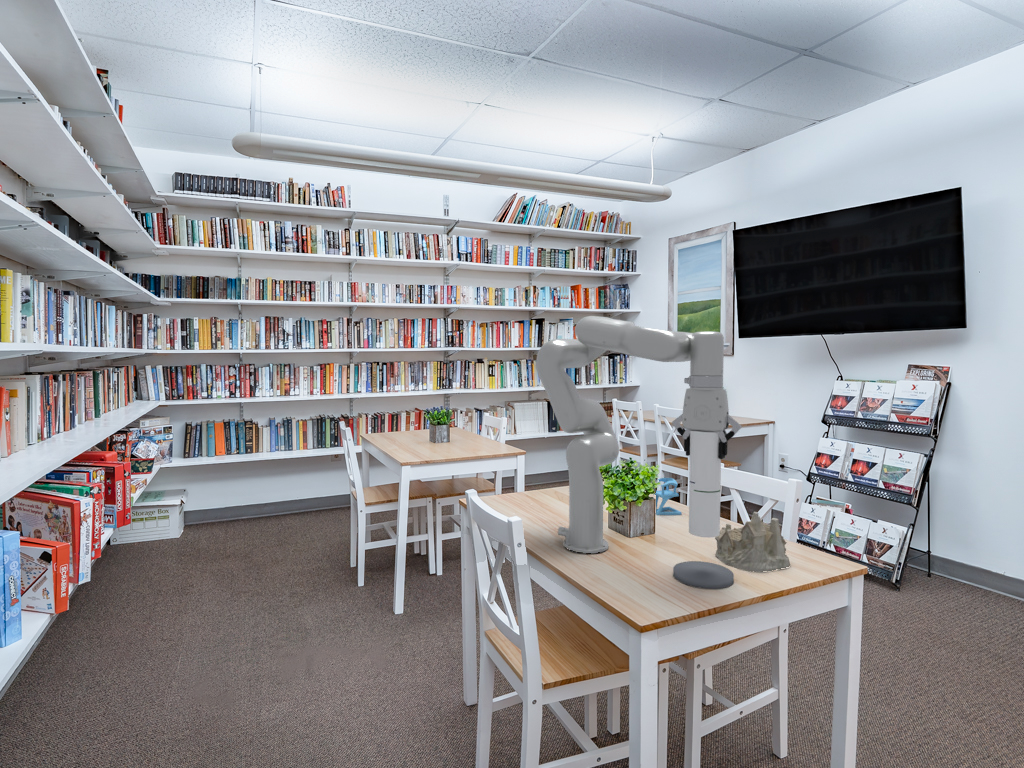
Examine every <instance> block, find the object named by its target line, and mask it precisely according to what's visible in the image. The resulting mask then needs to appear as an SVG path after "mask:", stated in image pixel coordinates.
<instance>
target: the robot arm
mask: <svg viewBox="0 0 1024 768" xmlns="http://www.w3.org/2000/svg"><path fill="white" fill-rule="evenodd" d="M574 335H575V339H574V338H555V339H554V338H553V339H550V340H548V341H547V342H545V343H543V344H542V346H541V347H540V348H539V350H538V352H537V355H536V361H535V362H536V363H535V364H536V372H537V375H538V377H539V380H540V382H541V384H542V386H543V388H544V390H545V392H546V395H547V398H548V399H549V403H550V405H551V408H552V411H553V413H554V416H555V418H556V421H557V423H558V426H559V428H560V429H561V430H562V431H563V432H565V433H566V434H579V433H583V435H581V436H579V435H578V436H577V437H575V438H573V439H572V440H571V441H570V442H569V444H567V447H566V450H565V459H566V463H567V464H566V465H567V470H568V481H569V482H568V489H569V491H568V492H569V493H568V494H569V495H568V497H569V498H568V499H569V500H568V503H569V505H568V507H569V508H568V512H569V513H568V514H569V515H568V518H569V519H568V527H563V526H559V527H558V529H557V535H558V536H562V537H565V539H564V540H563V547H564V546H565V547H566V548H568V549H570V550H573V551H577V552H583V553H582V554H586V553H591V554H598V552H600V553H603V552H606V551H607V550H608V549H609V542H608V541H607V540H606V539H604V481H603V477H602V474H601V470H600V467H603V466H608V465H609V464H610V465H611V464H612V463H614V462H615V461H616V460H617V459H618V456H619V452H620V445H619V441H618V439H617V437H616V434H615V432H614V429H613V427H612V424H611V422H610V420H609V417H608V415H607V412H606V410H605V409H604V407H603V406H602V405H601V404H600V403H599V402H598V401H597V400H595V399H592V398H582V397H581V395H580V393H579V391H578V388H577V387H576V386H577V385H576V384H575V382H574V380H573V379H572V377H571V376H570V375H569V374H568V373H567V372H566V370H565V369H580V368H583V367H586V366H588V365H590V364H591V363H592V362H594V361H595V360H596V359H597V358H599V357H600V356H602V355H603V354H605V353H606V352H608V351H610V352H615V353H620V354H625V355H627V356H632V357H637V358H639V359H640V358H641V359H646V360H650V361H655V362H661V363H662V362H663V363H674V362H675V363H682V362H683V363H684V362H690V364H689V365H690V366H689V367H690V368H689V372H690V373H689V374H690V375H689V376H688V377H685V378H684V381H683V382H684V384H687V385H688V388H686V389H685V394H684V399H683V406H682V414H680V415H679V416H677V417H676V418H675V419H673V421H672V422H671V424H672V425H673V427H674V428H675V429H676V431H677V432H678V433H679V435H680V436H681V437H682V439H683V441H684V442H683V451H684V452H685V456H686V457H687V456H689V457H690V430H698V431H712V432H718V435H719V437H720V439H721V440H720V442H719V459H721V460H723V459H725V458H726V456H727V455H728V442H729V441H730V440H731V439H732V438H733V437H734V436H736V435H737V433H738V432H740V430H741V429H742V425H741V424H740V423H739V422H738V421H737V420H735V419H734V418H733V417H732V416H731V415H730V411H729V400H728V394H727V389H725V388H724V351H725V349H724V348H725V347H724V346H725V345H724V344H725V341H724V339H725V338H724V335H723V333H722V332H719V331H710V330H709V331H695V332H687V331H675V330H674V331H673V330H661V329H655V328H649V327H644V326H643V327H642V326H639V325H636V324H635V323H634V322H632V321H630V320H629V321H627V320H622V319H615V318H614V319H613V318H611V317H607V316H597V315H589V316H584V317H582V318H581V319H579V320H578V321H577V323H576V325H575V328H574ZM681 423H682V424H681ZM729 426H731V427H732V428H731V430H730V431H728V432H727V431H726V429H728V428H729ZM565 547H564V548H565ZM566 548H565V549H566ZM568 549H567V550H568ZM570 550H569V551H570ZM573 551H572V552H573ZM577 552H576V553H577Z"/></svg>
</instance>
